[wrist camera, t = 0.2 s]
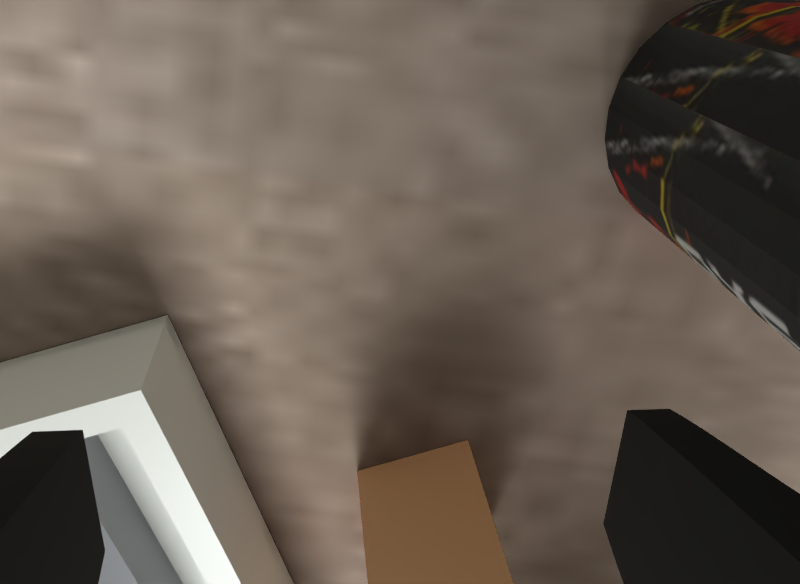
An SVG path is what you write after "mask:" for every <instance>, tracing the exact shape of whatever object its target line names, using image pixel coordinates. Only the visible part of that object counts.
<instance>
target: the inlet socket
mask: <svg viewBox="0 0 800 584" xmlns="http://www.w3.org/2000/svg"><path fill="white" fill-rule="evenodd" d="M84 439H85V445H86V450H87V455H88V461H89V466H90V472H91V477H92V482H93V488H94V493H95V498H96V504H97V509H98V515H99V520H100V525H101V531H102V536H103V542H104V547H105V554H104V559H103V564H102V569H101V574H100V578H99V583H98V584H183V583H182V581H181V580H180V578H179V576H178V574H177V573H176V571H175V569H174V567H173V566H172V564H171V562H170V560H169V559H168V557H167V555H166V553H165V552H164V550H163V548H162V546H161V545H160V543H159V541H158V539H157V538H156V536H155V534H154V532H153V531H152V529H151V527H150V525H149V524H148V522H147V520H146V518H145V517H144V515H143V513H142V511H141V510H140V508H139V506H138V504H137V503H136V501H135V499H134V497H133V496H132V494H131V492H130V491H129V489H128V487H127V485H126V484H125V482H124V480H123V478H122V477H121V475H120V473H119V471H118V470H117V468H116V466H115V464H114V463H113V461H112V459H111V457H110V456H109V454H108V452H107V450H106V449H105V447H104V445H103V443H102V442H101V440H100V438H99V436H98V435H94V436H91V437H87V438H84Z"/></svg>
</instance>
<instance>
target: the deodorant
mask: <svg viewBox="0 0 800 584" xmlns="http://www.w3.org/2000/svg"><path fill="white" fill-rule="evenodd" d="M605 142H606V150H607V158H608V166H609V169H610V172H611V174H612V176H613V178H614V181H615V183H616V185H617V187H618V190H619V192H620V193H621V194H622V195H623V196H624V198H625V199H626V200H627V201H628V202H629V203H630V204H631V205H632V207H633V208H634V209H635V210H636V211H637V212H638V213H639V214H641V215H642V216H643V217H644V218H645V219H646V220H648V221H649V222H650V223H651V224H652V225H653V226H655V227H656V228H657V229H658V230H659V231H660V232H662V233H663V234H664V235H665V236H666V237H667V238H669V239H670V240H671V241H672V242H673V243H674V244H676V245H677V246H678V247H679V248H680V249H681V250H683V251H684V252H685V253H686V254H687V255H688V256H690V257H691V258H692V259H693V260H694V261H695V262H697V263H698V264H699V265H700V266H701V267H702V268H704V269H705V270H706V271H707V272H708V273H709V274H711V275H712V276H713V277H714V278H715V279H716V280H718V281H719V282H720V283H721V284H722V285H723V286H725V287H726V288H727V289H728V290H729V291H730V292H732V293H733V294H734V295H735V296H736V297H737V298H739V299H740V300H741V301H742V302H743V303H744V304H746V305H747V306H748V307H749V308H750V309H751V310H753V311H754V312H755V313H756V314H757V315H758V316H760V317H761V318H762V319H763V320H764V321H765V322H767V323H768V324H769V325H770V326H771V327H772V328H774V329H775V330H776V331H777V332H778V333H779V334H781V335H782V336H783V337H784V338H785V339H786V340H788V341H789V342H790V343H791V344H792V345H793V346H795V347H796V348H797V349H798V350H799V351H800V1H793V0H712V1H709V2H705V3H702V4H698V5H696V6H694V7H692V8H691V9H689V10H687V11H686V12H684V13H682V14H681V15H679V16H677V17H676V18H674V19H672V20H671V21H669V22H667V23H666V24H665V25H664V26H663V27H662V28H661V29H660V30H658V31H657V32H656V33H655V34H654V35H653V36H652V37H651V38H650V39H649V40H648V41H647V42H646V43H645V44H644V45H643V46H642V47H641V48H640V49H639V51H638V52H637V54H636V55H635V57H634V58H633V60H632V61H631V63H630V64H629V66H628V67H627V69H626V70H625V72H624V73H623V75H622V76H621V78H620V81H619V83H618V86H617V89H616V91H615V94H614V97H613V99H612V102H611V104H610V107H609V113H608V120H607V128H606V136H605Z"/></svg>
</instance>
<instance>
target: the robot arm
mask: <svg viewBox="0 0 800 584" xmlns="http://www.w3.org/2000/svg"><path fill="white" fill-rule="evenodd" d="M604 527H605V530H606V533H607V536H608V539H609V542H610V545H611V548H612V551H613V554H614V557H615V560H616V563H617V566H618V569H619V572H620V574H621V577H622V580H623V583H624V584H800V494H799V493H798V492H796V491H794V490H793V489H791V488H790V487H788V486H787V485H785V484H784V483H782V482H781V481H779V480H778V479H776V478H775V477H773V476H772V475H770V474H769V473H767V472H766V471H764V470H763V469H761V468H760V467H758V466H757V465H755V464H754V463H752V462H751V461H749V460H748V459H747V458H745V457H744V456H742V455H741V454H739V453H738V452H736V451H735V450H733V449H732V448H730V447H729V446H727V445H726V444H724V443H723V442H721V441H720V440H718V439H717V438H715V437H714V436H712V435H711V434H709V433H708V432H706V431H705V430H703V429H702V428H700V427H698V426H697V425H695V424H694V423H692V422H691V421H689V420H687V419H686V418H684V417H683V416H681V415H679V414H677V413H676V412H674V411H672V410H670V409H653V410H627V414H626V419H625V424H624V429H623V433H622V438H621V443H620V448H619V452H618V457H617V462H616V467H615V471H614V476H613V481H612V486H611V490H610V495H609V500H608V505H607V509H606V514H605V519H604ZM104 554H105V547H104V542H103V536H102V531H101V525H100V520H99V515H98V509H97V504H96V498H95V493H94V488H93V482H92V477H91V472H90V466H89V461H88V455H87V450H86V445H85V439H84V434H83V430H65V431H36V432H31V433H30V434H29V435H28V436H26V437H25V438H24V439H23V440H21V441H20V442H19V443H18V444H16V445H15V446H14V447H13V448H12V449H10V450H9V451H8V452H7V453H6V454H5V455H3V456H2V457H1V458H0V584H98V583H99V578H100V574H101V569H102V564H103V559H104Z"/></svg>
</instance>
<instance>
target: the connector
mask: <svg viewBox="0 0 800 584" xmlns="http://www.w3.org/2000/svg"><path fill="white" fill-rule="evenodd" d="M357 473H358V484H359V494H360V505H361V515H362V526H363V536H364V547H365V557H366V568H367V579H368V584H513V581H512V577H511V574H510V571H509V568H508V565H507V562H506V559H505V555H504V552H503V549H502V546H501V543H500V540H499V536H498V533H497V530H496V527H495V524H494V521H493V518H492V514H491V511H490V508H489V505H488V502H487V499H486V496H485V492H484V489H483V486H482V483H481V480H480V477H479V473H478V470H477V467H476V464H475V461H474V458H473V455H472V451H471V448H470V445H469V442H468V440H466V441H463V442H459V443H455V444H452V445H448V446H445V447H441V448H438V449H434V450H431V451H427V452H423V453H420V454H416V455H413V456H409V457H406V458H402V459H398V460H395V461H391V462H388V463H384V464H381V465H377V466H373V467H370V468H366V469H363V470H359V471H357Z"/></svg>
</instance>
